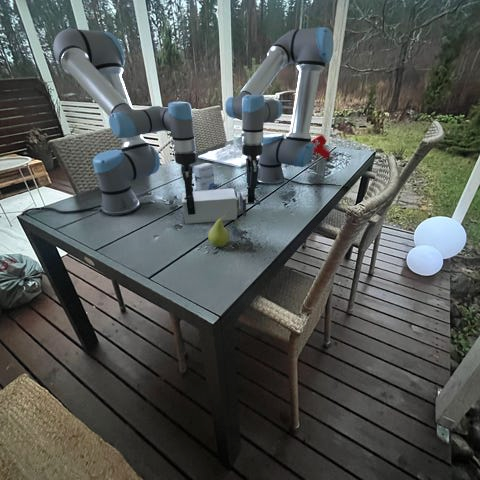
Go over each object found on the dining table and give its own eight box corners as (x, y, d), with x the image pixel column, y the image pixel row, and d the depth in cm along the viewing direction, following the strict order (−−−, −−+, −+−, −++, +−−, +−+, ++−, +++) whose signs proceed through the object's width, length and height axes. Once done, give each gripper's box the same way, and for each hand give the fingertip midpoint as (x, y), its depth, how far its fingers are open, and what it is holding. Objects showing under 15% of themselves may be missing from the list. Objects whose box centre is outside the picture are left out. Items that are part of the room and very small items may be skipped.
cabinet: (233, 208, 117) (232, 188, 112) (236, 219, 108) (236, 198, 103) (184, 212, 114) (182, 191, 109) (184, 224, 105) (182, 202, 100)
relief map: (240, 167, 163) (239, 158, 160) (198, 157, 181) (197, 150, 178) (264, 157, 181) (264, 149, 178) (224, 149, 199) (223, 141, 196)
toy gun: (334, 153, 174) (322, 133, 171) (333, 155, 171) (321, 134, 167) (309, 168, 184) (297, 149, 181) (308, 170, 181) (296, 151, 177)
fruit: (206, 242, 94) (203, 211, 88) (227, 237, 96) (225, 207, 90) (212, 252, 89) (209, 220, 82) (233, 247, 91) (232, 215, 85)
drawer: (255, 205, 117) (255, 189, 113) (259, 214, 110) (260, 198, 106) (197, 209, 114) (195, 193, 110) (197, 219, 106) (196, 203, 102)
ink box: (208, 184, 140) (207, 162, 133) (214, 187, 137) (213, 164, 130) (195, 189, 134) (192, 165, 128) (201, 192, 132) (199, 168, 125)
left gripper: (175, 144, 105) (182, 197, 117) (172, 160, 86) (181, 222, 98) (194, 143, 106) (199, 195, 118) (196, 159, 87) (202, 220, 99)
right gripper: (239, 139, 103) (239, 196, 116) (245, 147, 92) (244, 210, 105) (258, 138, 104) (256, 195, 117) (266, 147, 93) (263, 208, 106)
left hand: (191, 207), depth 108 cm, fingers closed on cabinet, 10 cm apart
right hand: (250, 202), depth 111 cm, fingers closed
